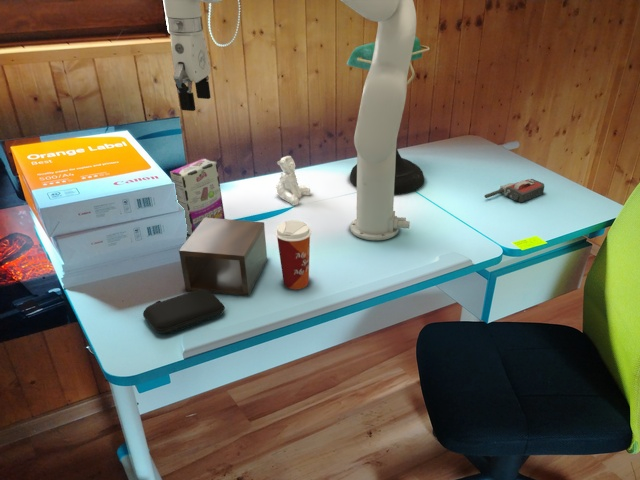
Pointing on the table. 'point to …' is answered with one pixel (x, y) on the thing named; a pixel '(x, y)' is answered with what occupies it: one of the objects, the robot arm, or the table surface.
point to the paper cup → (294, 253)
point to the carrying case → (183, 311)
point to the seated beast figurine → (290, 182)
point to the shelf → (224, 256)
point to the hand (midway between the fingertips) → (196, 104)
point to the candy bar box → (198, 192)
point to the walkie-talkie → (520, 190)
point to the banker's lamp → (405, 170)
